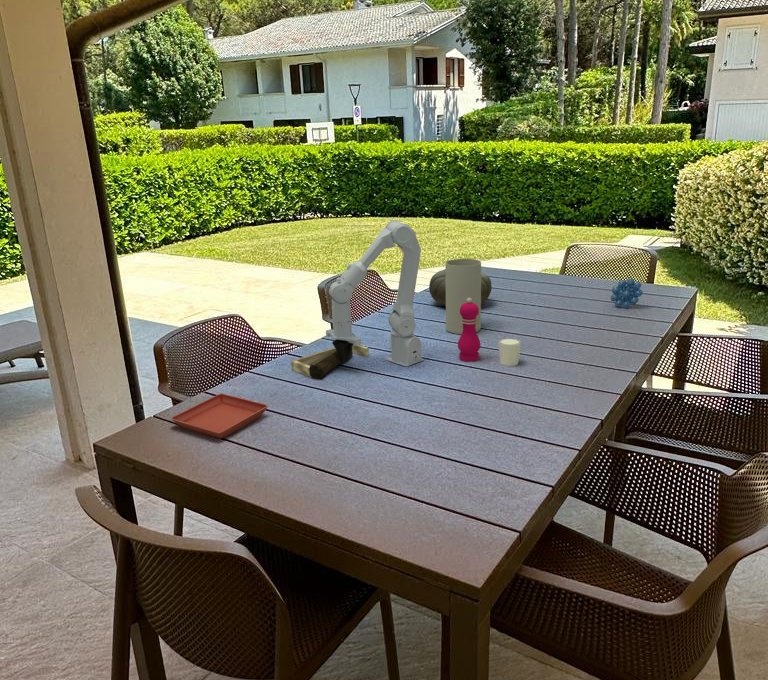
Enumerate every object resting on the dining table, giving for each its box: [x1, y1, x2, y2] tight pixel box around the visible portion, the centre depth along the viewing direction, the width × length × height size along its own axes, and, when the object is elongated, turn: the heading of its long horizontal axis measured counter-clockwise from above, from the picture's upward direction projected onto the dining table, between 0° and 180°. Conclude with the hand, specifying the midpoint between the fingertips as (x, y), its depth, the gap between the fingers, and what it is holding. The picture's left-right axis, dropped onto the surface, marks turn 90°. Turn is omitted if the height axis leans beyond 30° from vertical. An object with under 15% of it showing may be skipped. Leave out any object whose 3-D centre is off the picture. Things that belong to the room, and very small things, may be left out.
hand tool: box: [309, 348, 354, 380], centre depth 204 cm, size 23×5×6 cm, turn 151°
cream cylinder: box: [498, 338, 522, 367], centre depth 201 cm, size 7×7×7 cm
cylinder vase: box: [445, 258, 482, 335], centre depth 233 cm, size 12×12×25 cm
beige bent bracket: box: [290, 344, 370, 378], centre depth 208 cm, size 9×24×3 cm, turn 133°
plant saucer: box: [170, 393, 269, 439], centre depth 169 cm, size 18×18×3 cm
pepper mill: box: [457, 298, 481, 363], centre depth 205 cm, size 7×7×20 cm
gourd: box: [428, 268, 493, 307], centre depth 267 cm, size 25×25×17 cm
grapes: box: [610, 278, 644, 309], centre depth 254 cm, size 12×7×12 cm, turn 68°
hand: (344, 362), depth 203 cm, fingers closed
